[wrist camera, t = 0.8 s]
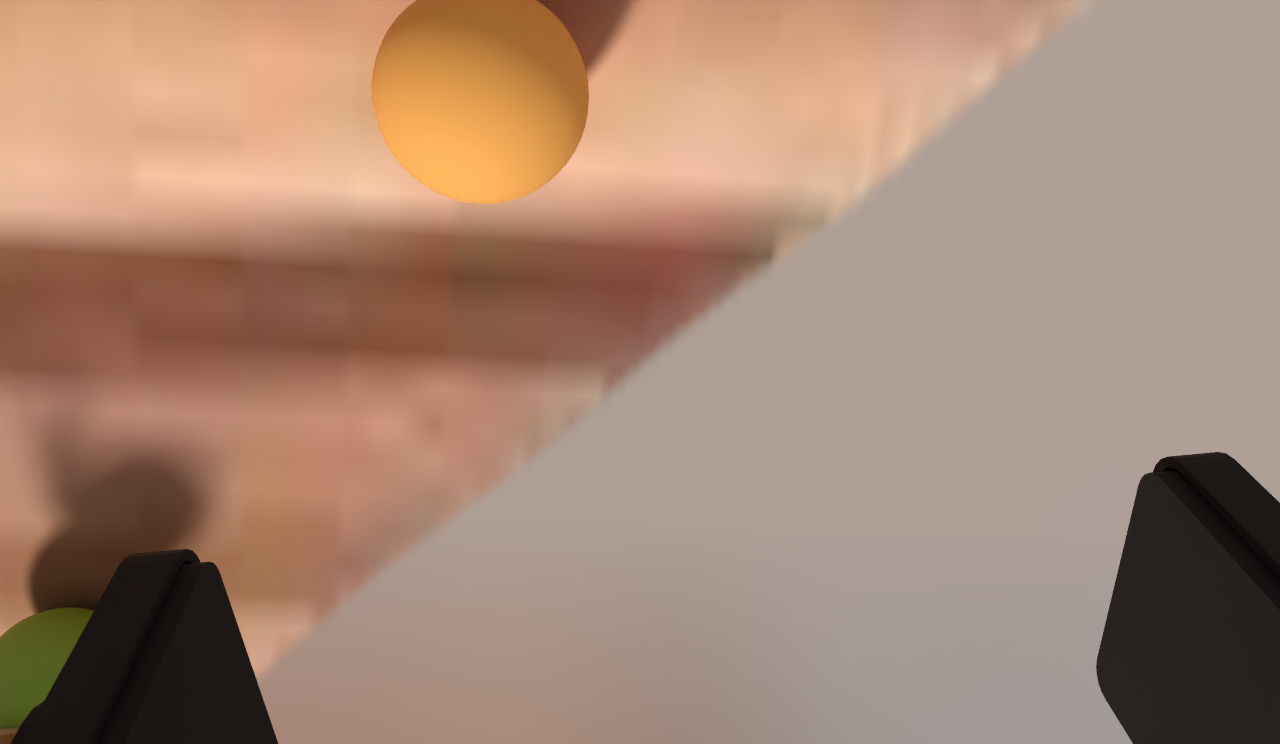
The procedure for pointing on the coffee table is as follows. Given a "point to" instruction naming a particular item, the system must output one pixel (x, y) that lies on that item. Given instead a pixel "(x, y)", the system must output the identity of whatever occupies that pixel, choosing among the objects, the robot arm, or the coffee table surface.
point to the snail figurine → (34, 662)
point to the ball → (480, 96)
